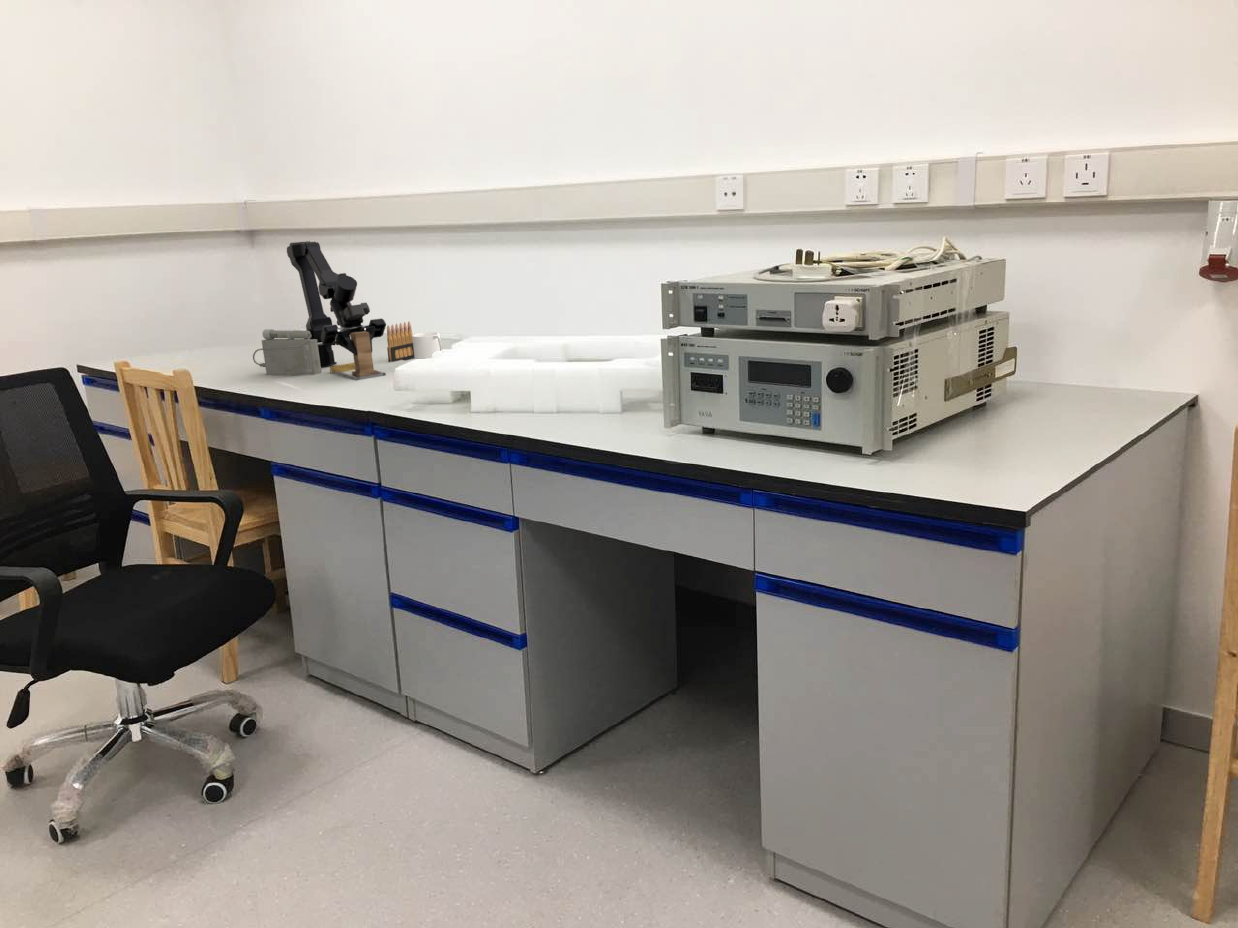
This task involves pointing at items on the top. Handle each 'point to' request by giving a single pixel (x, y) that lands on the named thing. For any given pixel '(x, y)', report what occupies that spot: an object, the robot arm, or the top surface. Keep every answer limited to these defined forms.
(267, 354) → the geiger counter
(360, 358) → the plate
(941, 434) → the top surface
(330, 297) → the robot arm
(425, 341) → the cup
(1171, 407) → the top surface
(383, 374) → the track
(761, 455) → the top surface
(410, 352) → the ammunition clip
